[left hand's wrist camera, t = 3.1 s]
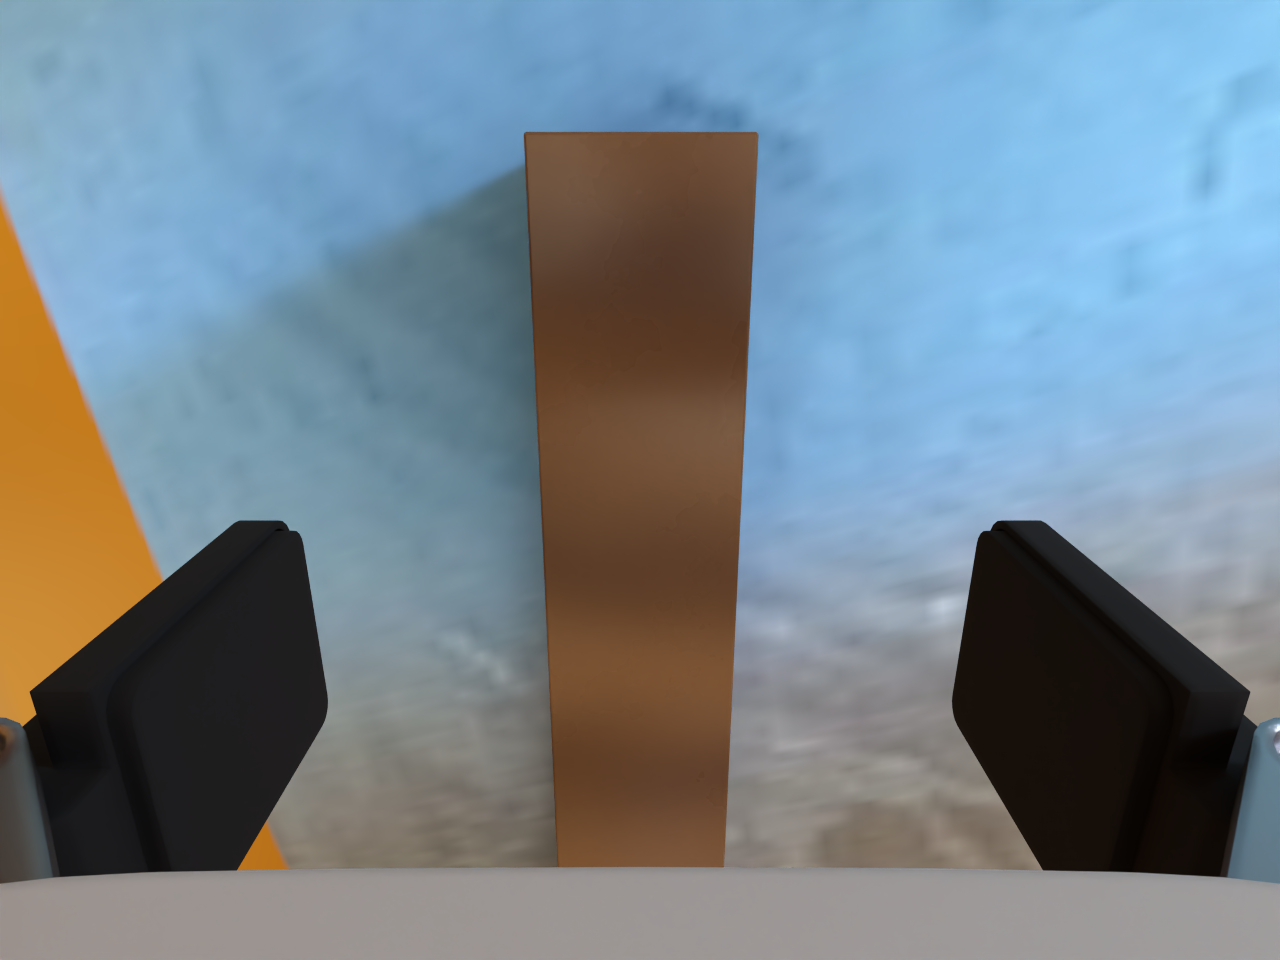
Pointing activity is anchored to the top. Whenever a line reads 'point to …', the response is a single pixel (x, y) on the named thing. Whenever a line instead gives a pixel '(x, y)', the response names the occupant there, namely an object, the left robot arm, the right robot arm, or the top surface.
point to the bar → (641, 478)
